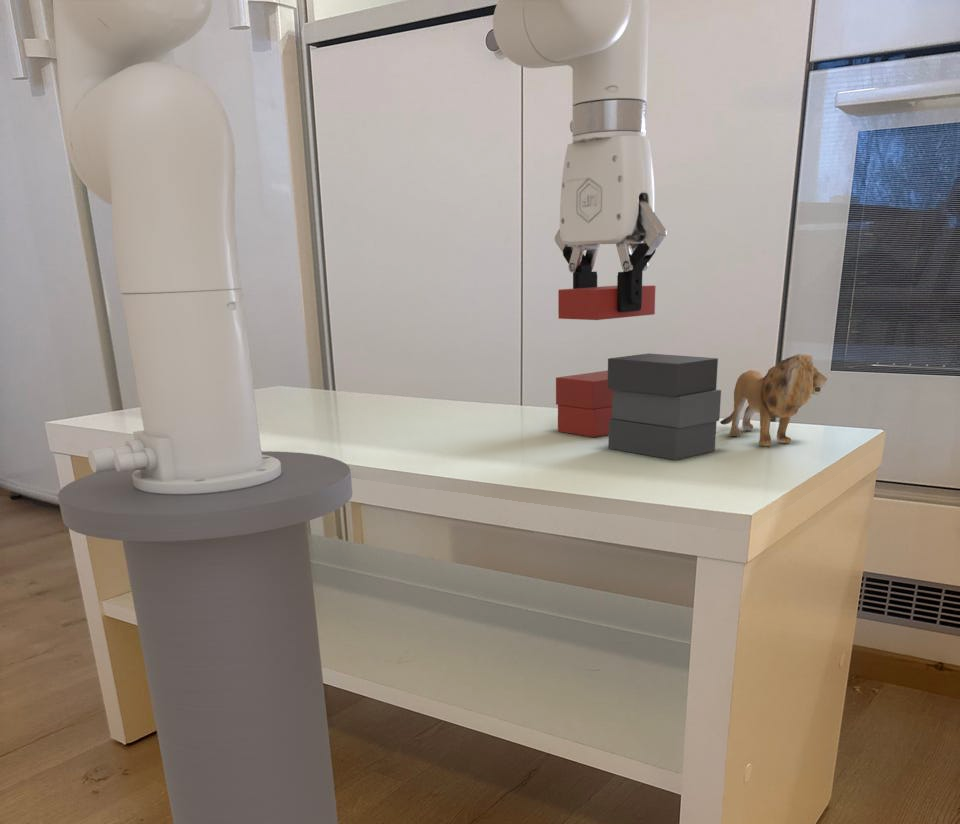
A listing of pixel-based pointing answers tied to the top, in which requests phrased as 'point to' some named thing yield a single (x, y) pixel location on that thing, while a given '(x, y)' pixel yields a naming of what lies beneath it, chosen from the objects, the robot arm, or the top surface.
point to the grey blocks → (663, 405)
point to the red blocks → (584, 404)
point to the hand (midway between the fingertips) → (606, 309)
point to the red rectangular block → (600, 303)
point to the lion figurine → (775, 395)
